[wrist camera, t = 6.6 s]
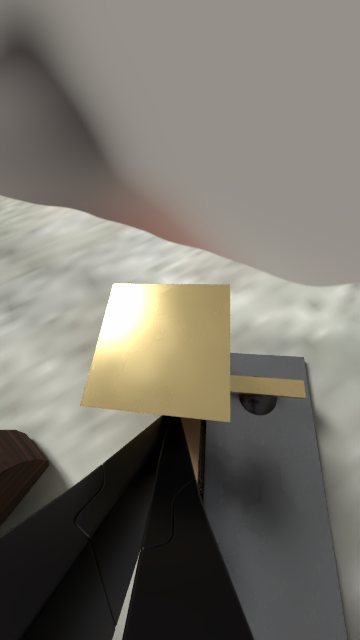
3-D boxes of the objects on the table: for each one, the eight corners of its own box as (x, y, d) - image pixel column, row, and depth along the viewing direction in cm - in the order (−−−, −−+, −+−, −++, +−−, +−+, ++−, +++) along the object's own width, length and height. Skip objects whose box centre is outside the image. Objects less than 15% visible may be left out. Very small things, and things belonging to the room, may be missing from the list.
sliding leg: (297, 428, 13) (456, 446, 5) (155, 413, 15) (80, 405, 6) (289, 361, 15) (392, 285, 7) (163, 353, 17) (113, 284, 8)
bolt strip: (475, 1529, 5) (513, 1690, 4) (172, 1288, 6) (167, 1385, 5) (301, 359, 16) (304, 356, 15) (209, 353, 17) (209, 351, 16)
